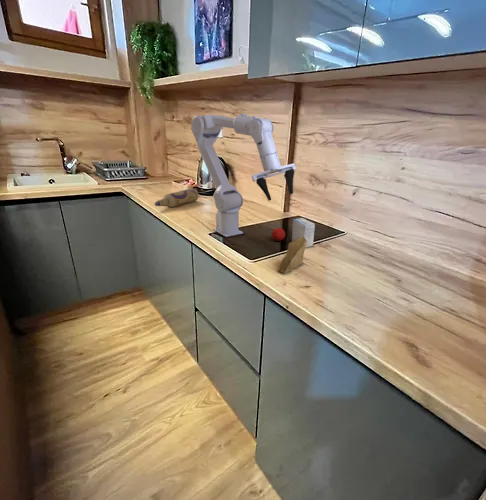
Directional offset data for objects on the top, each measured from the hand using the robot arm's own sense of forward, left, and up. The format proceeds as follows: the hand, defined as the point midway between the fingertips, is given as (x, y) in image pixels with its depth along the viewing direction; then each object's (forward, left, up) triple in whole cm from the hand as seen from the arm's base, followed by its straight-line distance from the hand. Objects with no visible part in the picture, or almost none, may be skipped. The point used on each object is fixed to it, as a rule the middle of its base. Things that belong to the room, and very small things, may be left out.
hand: (280, 197), depth 100 cm
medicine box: (+1, +11, -19) cm, 21 cm away
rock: (+13, -6, -19) cm, 24 cm away
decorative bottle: (-72, -8, -19) cm, 75 cm away
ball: (-6, +5, -16) cm, 18 cm away
